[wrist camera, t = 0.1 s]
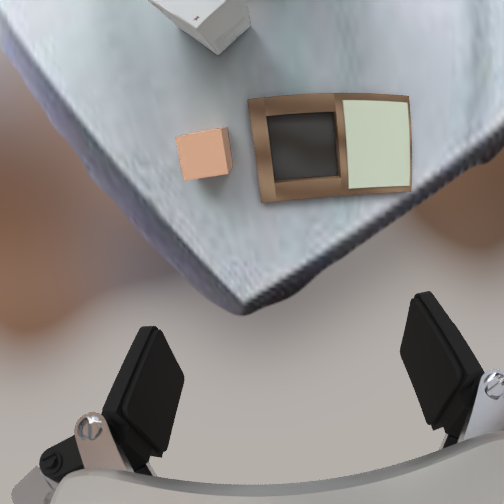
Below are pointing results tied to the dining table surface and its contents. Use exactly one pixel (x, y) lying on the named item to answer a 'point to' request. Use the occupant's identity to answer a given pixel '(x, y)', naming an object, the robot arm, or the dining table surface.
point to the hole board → (331, 144)
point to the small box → (208, 20)
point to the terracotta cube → (205, 153)
